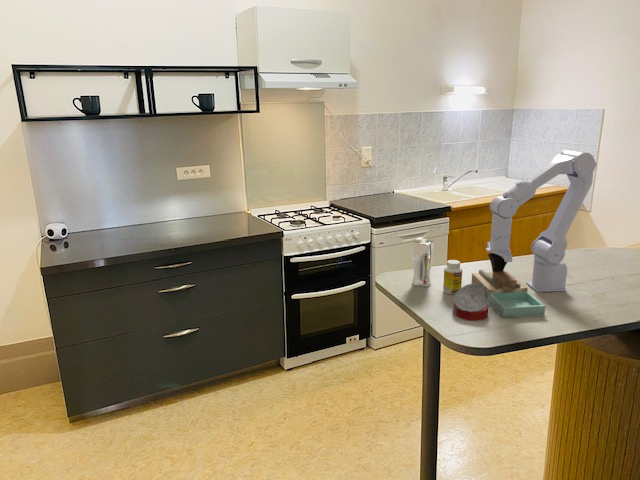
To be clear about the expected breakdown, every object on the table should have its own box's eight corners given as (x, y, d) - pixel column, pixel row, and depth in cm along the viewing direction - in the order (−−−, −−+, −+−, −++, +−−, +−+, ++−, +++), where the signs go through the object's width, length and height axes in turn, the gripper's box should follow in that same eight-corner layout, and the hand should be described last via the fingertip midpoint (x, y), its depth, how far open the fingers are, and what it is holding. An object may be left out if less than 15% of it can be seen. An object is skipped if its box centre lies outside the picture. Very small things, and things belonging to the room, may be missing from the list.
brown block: (504, 279, 155) (505, 271, 154) (509, 284, 151) (510, 275, 150) (492, 280, 155) (492, 271, 154) (497, 285, 151) (497, 276, 150)
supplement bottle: (452, 296, 153) (454, 265, 150) (439, 291, 158) (440, 261, 155) (464, 292, 156) (466, 262, 153) (451, 287, 161) (452, 257, 158)
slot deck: (506, 283, 163) (508, 268, 161) (526, 300, 149) (528, 284, 148) (471, 284, 162) (472, 270, 161) (487, 301, 149) (489, 286, 147)
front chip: (510, 284, 151) (510, 275, 150) (515, 289, 147) (516, 280, 146) (497, 285, 151) (498, 276, 150) (502, 290, 147) (503, 280, 146)
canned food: (487, 330, 141) (502, 308, 135) (456, 331, 139) (469, 309, 132) (473, 299, 149) (486, 278, 143) (443, 300, 147) (454, 278, 140)
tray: (526, 300, 149) (527, 291, 148) (544, 315, 139) (545, 305, 138) (488, 302, 148) (488, 293, 148) (503, 317, 138) (503, 308, 137)
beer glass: (423, 289, 159) (425, 245, 155) (406, 283, 164) (407, 241, 160) (436, 283, 164) (438, 240, 159) (419, 278, 169) (421, 236, 164)
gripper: (479, 229, 158) (476, 268, 162) (497, 242, 144) (493, 285, 148) (500, 228, 159) (497, 267, 163) (520, 241, 145) (516, 284, 149)
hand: (497, 276), depth 156 cm, fingers closed
